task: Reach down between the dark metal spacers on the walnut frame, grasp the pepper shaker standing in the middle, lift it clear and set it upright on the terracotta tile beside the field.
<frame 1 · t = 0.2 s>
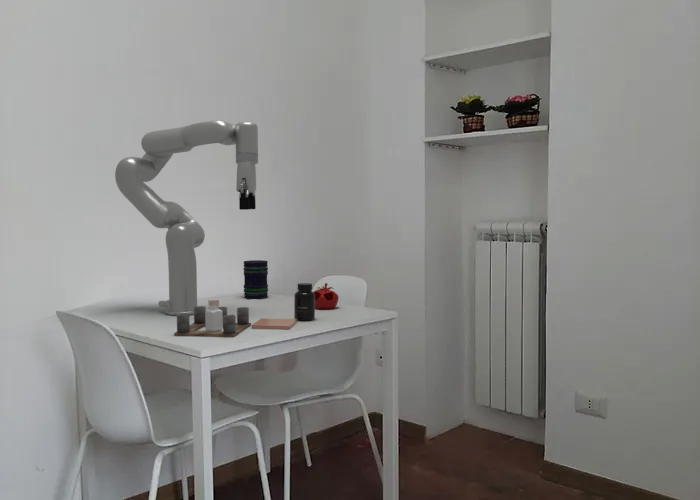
hand: (247, 209, 221), 36 cm above the table, tool pointing down, fingers open, 9 cm apart
terracotta tile: (274, 325, 204), on the table
pomegranate: (324, 308, 237), on the table
pepper shaker: (214, 331, 196), resting in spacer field
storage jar: (256, 298, 263), on the table
supplement bottle: (304, 320, 214), on the table
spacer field: (214, 330, 196), on the table
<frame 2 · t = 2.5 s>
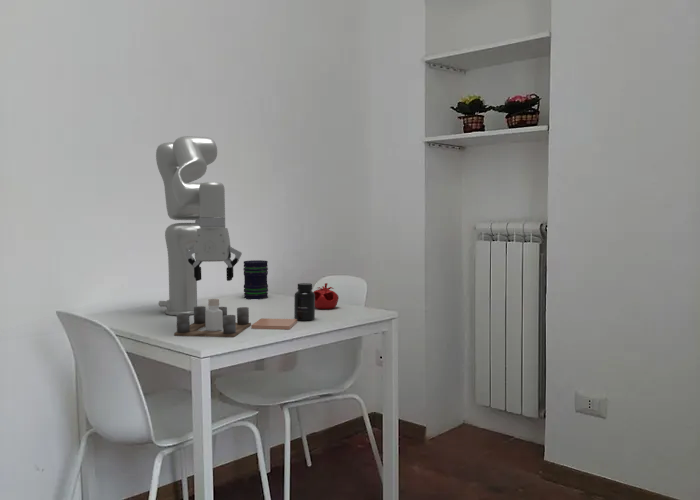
hand: (213, 280, 194), 15 cm above the table, tool pointing down, fingers open, 9 cm apart
nothing on the table moved.
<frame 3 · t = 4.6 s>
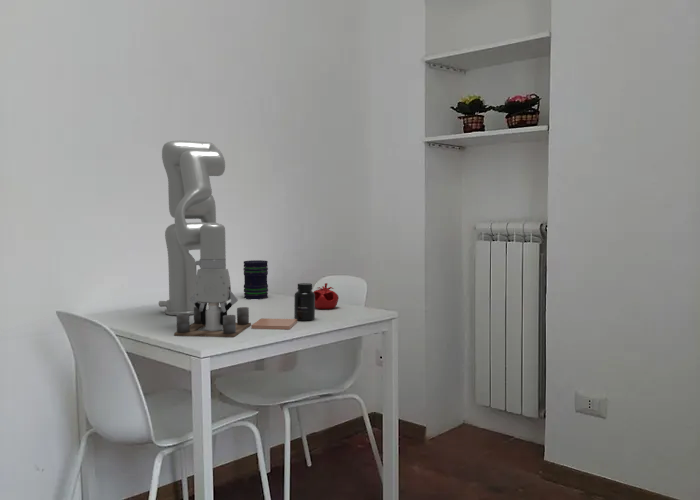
hand: (214, 323, 195), 2 cm above the table, tool pointing down, fingers closed on pepper shaker, 5 cm apart
pepper shaker: (214, 330, 196), resting in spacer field, touching gripper
everything else where it was.
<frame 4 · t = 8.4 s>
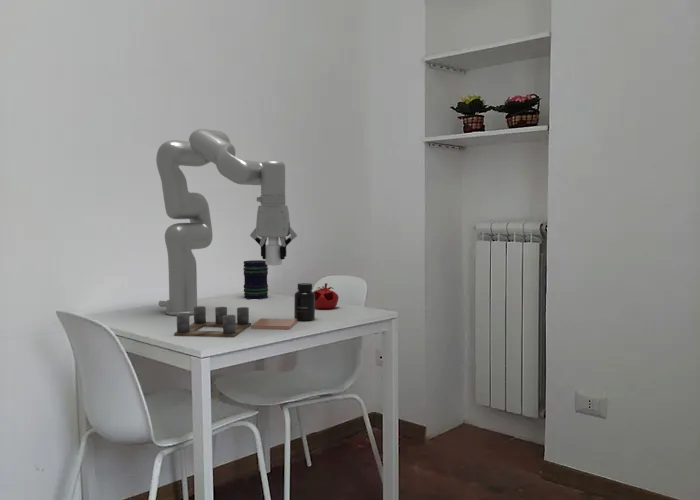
hand: (273, 258, 202), 21 cm above the table, tool pointing down, fingers closed on pepper shaker, 5 cm apart
pepper shaker: (273, 265, 202), point 19 cm above the table, touching gripper
everything else where it was.
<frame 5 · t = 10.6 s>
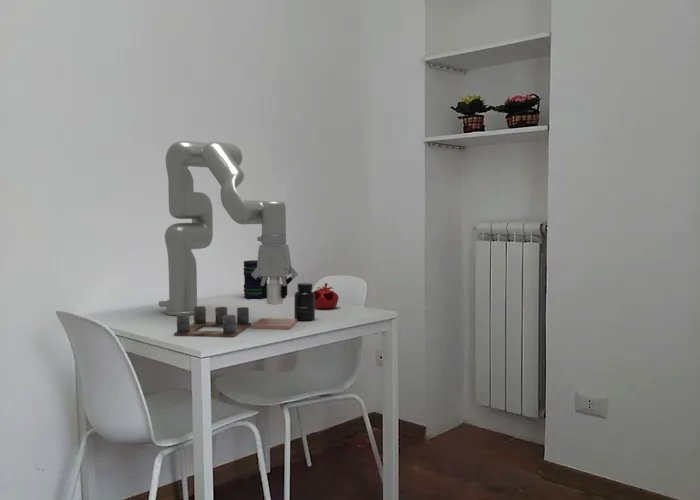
hand: (274, 297, 203), 9 cm above the table, tool pointing down, fingers closed on pepper shaker, 5 cm apart
pepper shaker: (274, 304, 203), point 7 cm above the table, touching gripper
everything else where it was.
when the fingers open (5 cm above the table, at t = 12.3 s): pepper shaker drops 2 cm, resting on terracotta tile.
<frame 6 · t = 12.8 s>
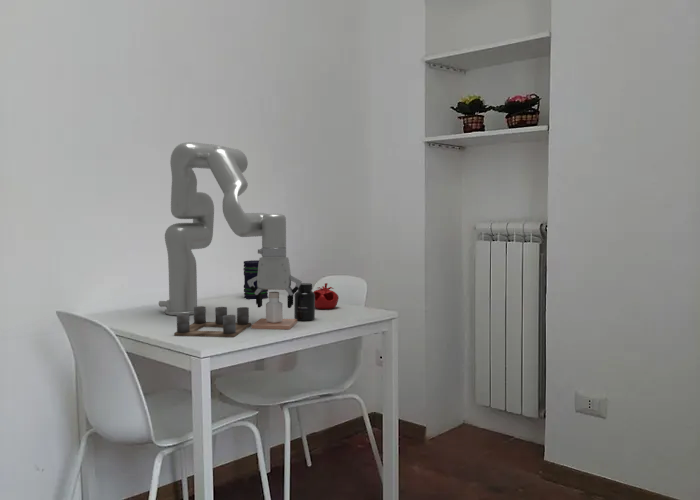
hand: (274, 307, 203), 6 cm above the table, tool pointing down, fingers open, 9 cm apart
pepper shaker: (274, 322, 204), point 1 cm above the table, touching terracotta tile
everything else where it was.
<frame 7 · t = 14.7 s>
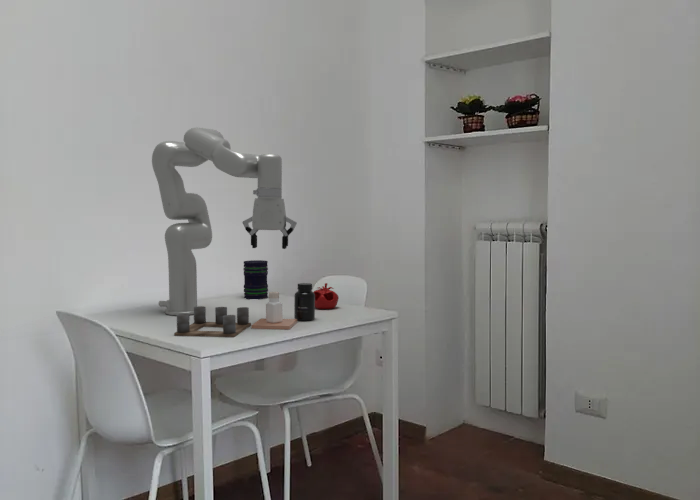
hand: (269, 248, 204), 24 cm above the table, tool pointing down, fingers open, 9 cm apart
nothing on the table moved.
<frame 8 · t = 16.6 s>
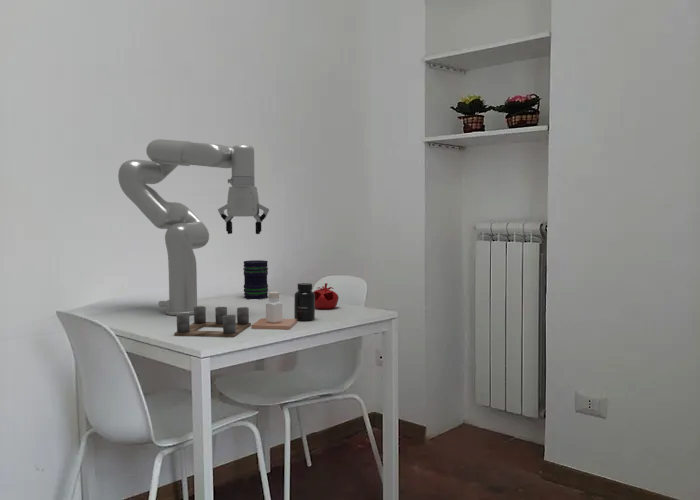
hand: (243, 233, 216), 28 cm above the table, tool pointing down, fingers open, 9 cm apart
nothing on the table moved.
at the end: pepper shaker inside the target area on the terracotta tile (0.2 cm from its centre), point 0.8 cm above the terracotta tile's base; pepper shaker tilted 0°; the gripper is holding nothing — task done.
